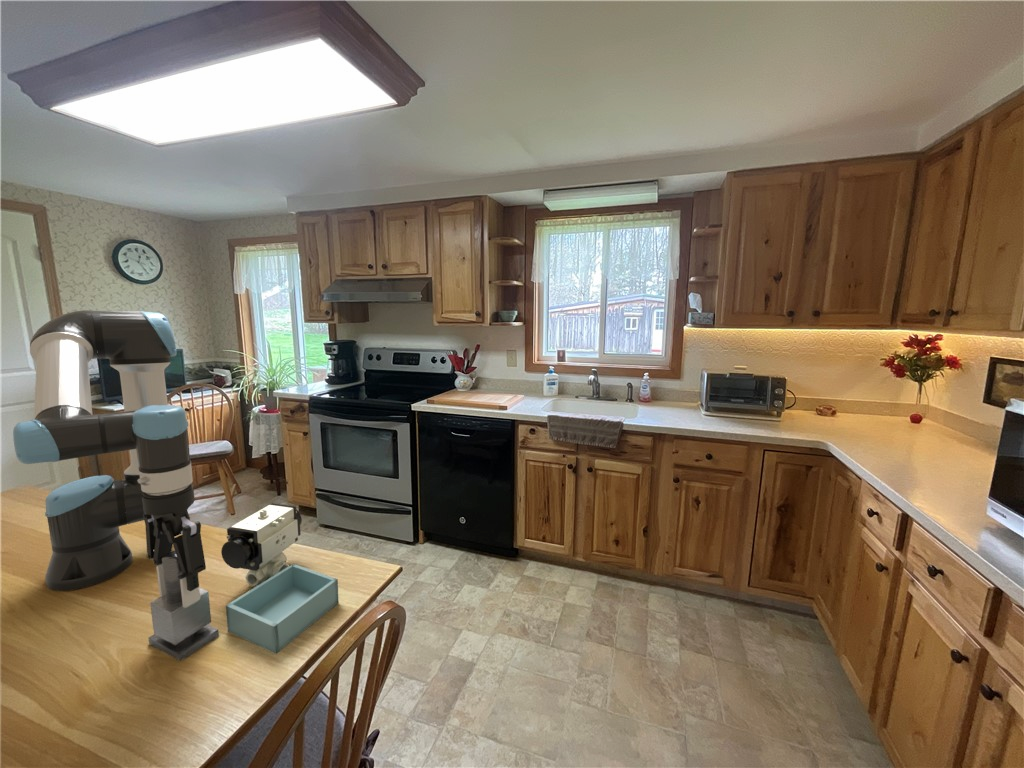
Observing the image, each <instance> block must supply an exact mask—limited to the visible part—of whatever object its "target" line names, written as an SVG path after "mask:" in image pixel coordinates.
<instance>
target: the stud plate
mask: <svg viewBox="0 0 1024 768" xmlns="http://www.w3.org/2000/svg"><path fill="white" fill-rule="evenodd" d="M219 636H220V633H219V628H217V627H215V626H212V625H210V624H207V625H206V626H204V627H203V628H201V629H200V630H198V631H196V632H195V633H193V634H192V635H190V636H189V637H187V638H185V639H184V640H182V641H181V642H179V643H178V644H176V645H174V644H172V643H170V642H168V641H166V640H164V639H162V638H160V637H158V636H157V635H155V634H154V633H153V634H152V635H150V636H149V637H148V644H149V645H150V646H152V647H154V648H155V649H157V650H159V651H160V652H163V653H165V654H166V655H168V656H170V657H172V658H174V659H176V660H178V661H179V662H182V661H184V660H185V659H186V658H188V657H190V656H191V655H193V654H194V653H196V652H197V651H198V650H200V649H202V648H203V647H204V646H206V645H207V644H209V643H210V642H211V641H214V640H215V639H216V638H218V637H219Z"/></svg>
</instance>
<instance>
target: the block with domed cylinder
mask: <svg viewBox="0 0 1024 768" xmlns="http://www.w3.org/2000/svg"><path fill="white" fill-rule="evenodd" d="M162 564H163V573H164V581H165V590H166V594H165V595H163V596H159V597H157V598H155V599H153V600H151V601H150V602H149V603H150V605H149V606H150V612H151V621H152V628H153V629H152V630H153V635H154V634H155V635H157V636H158V637H160V638H162V639H164V640H166V641H168V642H170V643H172V644H174V645H176V644H178V643H179V642H181V641H182V640H184V639H185V638H187V637H189V636H190V635H192V634H193V633H195V632H196V631H198V630H200V629H201V628H203V627H204V626H206V625H207V624H208V625H210V624H211V623H212V616H211V615H212V614H211V606H210V605H211V604H210V595H209V591H208V590H207V589H204V588H202V587H200V586H199V590H200V600H198V601H197V602H195V603H193V604H191V605H190V606H188V607H186V608H184V607H183V604H182V595H181V586H180V579H179V578H178V576H180V575H182V571H181V568H180V565H179V562H178V558H177V555H176V552H175V549H174V550H172V551H171V552H169V553H167V554H165V555H164V556H163V557H162Z"/></svg>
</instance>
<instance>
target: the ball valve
mask: <svg viewBox="0 0 1024 768" xmlns="http://www.w3.org/2000/svg"><path fill="white" fill-rule="evenodd" d="M302 521H303V519H302V515H301V513H300V512H299V510H297V507H296V506H294V505H286V504H282V503H281V504H280V503H273V502H272V503H270V504H269V505H266V506H265V507H263V508H262V509H259V510H258V511H256V512H254V513H253V514H250V515H249V516H247V517H246V518H244V519H242V520H240V521H238V522H236V523H235V524H233V525H232V526H230V527H228V528H227V529H226V532H227V534H226V539H227V541H226V542H224V543H223V545H222V547H221V552H220V553H221V557H222V559H223V561H224V563H225V564H226V565H227V566H229V567H230V568H232V569H244V570H247V571H248V570H249V571H248V572H247V573H246V575H245V580H246V582H247V584H248V585H249V586H251V587H256V586H258V585H259V584H261V583H263V582H264V581H266V580H268V579H269V578H271V577H272V576H274V575H276V574H277V573H279V572H280V571H282V570H284V569H285V568H287V567H289V565H288V563H287V560H288V557H287V556H286V554H285V553H284V551H285V550H287V549H288V548H289V547H290V546H291V547H292V545H293V544H295V543H296V542H297V541H298V539H299V537H300V536H301V532H302V531H301V525H302Z"/></svg>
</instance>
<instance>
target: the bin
mask: <svg viewBox="0 0 1024 768" xmlns="http://www.w3.org/2000/svg"><path fill="white" fill-rule="evenodd" d="M338 580H339V579H338V578H335V577H333V576H330V575H327V574H323V573H321V572H318V571H315V570H312V569H310V568H307V567H304V566H301V565H298V564H295V563H292V564H290V565H288V567H287V568H285V569H284V570H282V571H280V572H279V573H277V574H276V575H274V576H272V577H271V578H269V579H268V580H266V581H264V582H263V583H261V584H259V585H257V586H254V587H253V588H252V589H250V590H248V591H247V592H245V593H243V594H242V595H239V597H237V598H236V599H234V600H232V601H231V602H229V603H227V604H225V613H226V624H227V625H226V626H227V632H228V633H231V634H232V635H235V636H236V637H239V638H241V639H243V640H245V641H247V642H249V643H252V644H254V645H256V646H257V647H260V648H262V649H264V650H266V651H268V652H270V653H272V654H275V655H277V654H278V653H279V652H280V651H282V650H283V649H284V648H285V647H286V646H287V645H289V644H290V643H291V642H292V641H294V640H295V639H296V638H297V637H298V636H300V635H301V634H302V633H304V632H305V631H306V630H307V629H308V628H310V627H311V626H313V624H315V623H316V622H317V621H318V620H319V619H320V618H322V617H324V615H325V614H327V613H328V612H329V611H330V610H332V609H333V608H334V607H336V606H337V605H338V603H339V602H340V601H339V585H338V584H339V582H338Z"/></svg>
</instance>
